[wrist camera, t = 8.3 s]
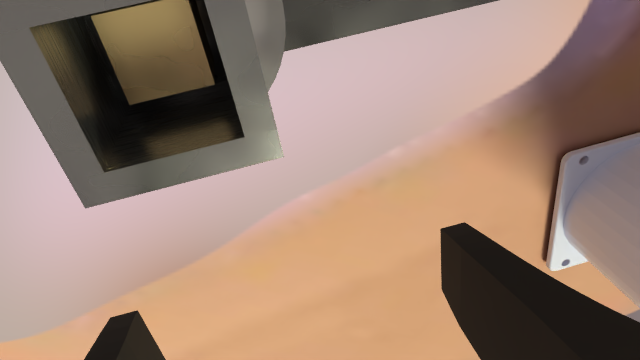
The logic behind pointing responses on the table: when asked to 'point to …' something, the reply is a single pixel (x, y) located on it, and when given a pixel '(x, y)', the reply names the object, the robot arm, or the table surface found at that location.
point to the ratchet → (267, 26)
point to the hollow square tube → (137, 119)
